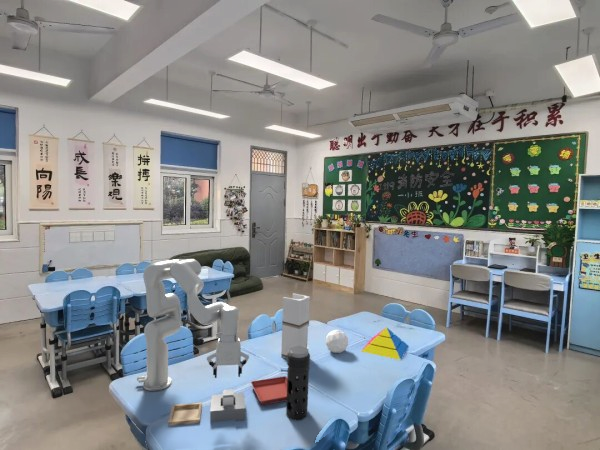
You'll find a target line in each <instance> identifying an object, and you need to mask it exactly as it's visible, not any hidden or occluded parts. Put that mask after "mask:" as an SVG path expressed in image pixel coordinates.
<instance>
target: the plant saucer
mask: <svg viewBox="0 0 600 450" xmlns="http://www.w3.org/2000/svg"><path fill="white" fill-rule="evenodd" d="M250 384H251V385H252V388H253V390H254V392H255V394H256V396H257V399H258V401H259V402H260V403H261V404H262V406H263V405H268V404H275V403H279V402H280V403H281V402H285V401H286V402H287V376H285V375H284V376H277V377H272V378H265V379H264V378H263V379H259V380H258V379H257V380H252V381H251V382H250ZM291 392H292V391H291Z"/></svg>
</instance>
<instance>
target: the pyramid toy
mask: <svg viewBox="0 0 600 450" xmlns="http://www.w3.org/2000/svg"><path fill="white" fill-rule="evenodd" d="M408 348H409V344H407V343H406V342H405V341H403V340H402V339H401V338H400V337H399V336H397V335H396V334H395V333H394V332H393V331H392V330H391V329H389V328H388V327H384V328H383V329H382V330H381V331H379V332H378V333H376V334H375V335H374V336H373V337H371V338H370V340H369V341H368V342H367V344H366V345H365V346H364V347H363V348H362V349H361V352H362V353H366V354H370V355H375V356H379V355H380V357H383V356H385V357H384V358H388V357H390V358H389V359H392V358H394V359H393V360H396V359H400V360H399V361H402V360H401V358H402V356H403V354H404V352H405V353H406V352H407V350H408ZM404 355H405V354H404ZM403 357H404V356H403ZM402 359H403V358H402Z"/></svg>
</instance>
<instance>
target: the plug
mask: <svg viewBox="0 0 600 450" xmlns="http://www.w3.org/2000/svg"><path fill="white" fill-rule="evenodd" d="M234 391H235V390H234V388H232V389H231V388H230V389H229V388H228V389H223V390H222V394H223V406H228V405H234V393H235V392H234Z"/></svg>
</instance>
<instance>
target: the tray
mask: <svg viewBox="0 0 600 450" xmlns="http://www.w3.org/2000/svg"><path fill="white" fill-rule="evenodd" d="M202 408H203V402H202V401H201V402H192V403H191V402H190V403H189V402H188V403H180V404H178V403H177V404H172V405H171V410H170V413H169V418H168V421H167V424H168V425H167V426H169V427H171V426H180V425H193V424H200V423H201V415H202Z"/></svg>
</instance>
